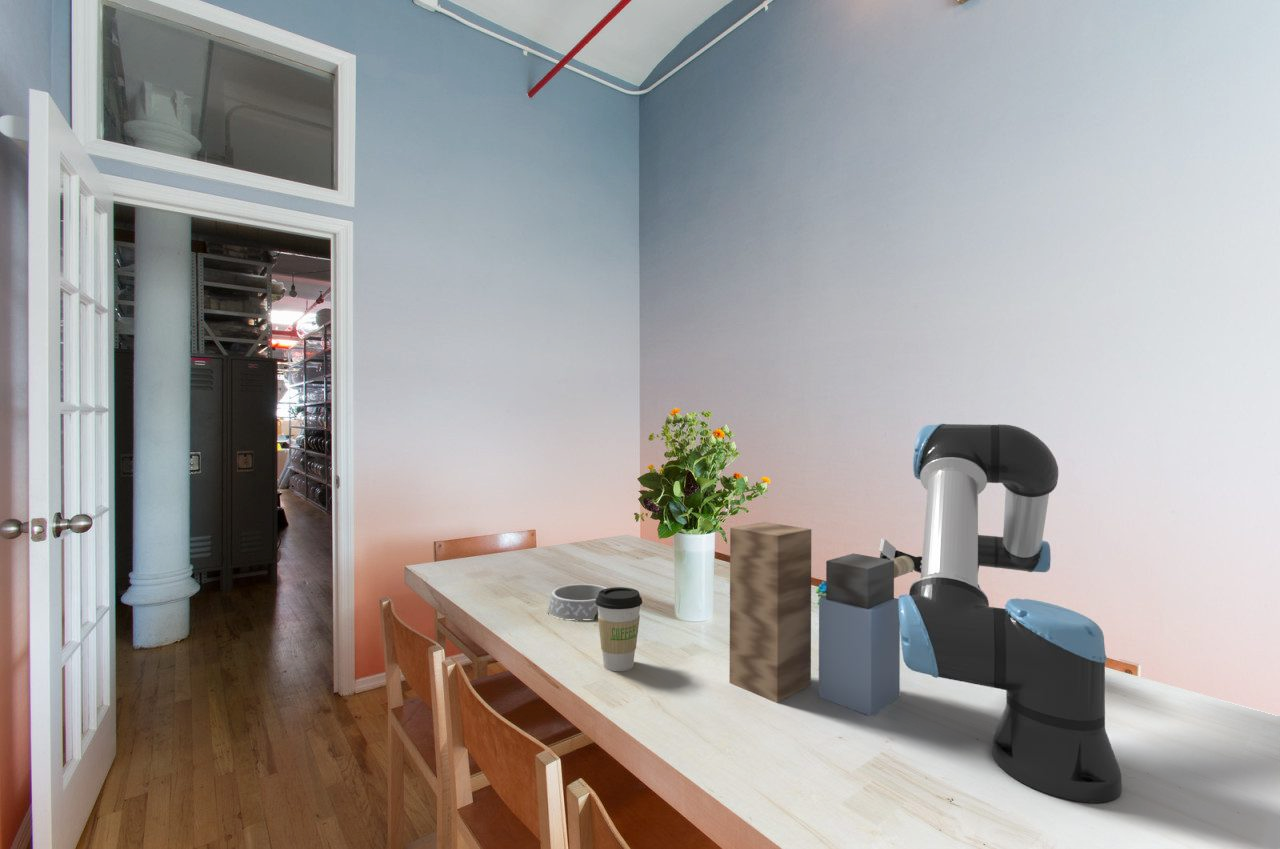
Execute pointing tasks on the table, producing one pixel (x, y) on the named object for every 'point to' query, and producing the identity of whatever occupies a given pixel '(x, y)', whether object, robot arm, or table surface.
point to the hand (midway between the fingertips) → (914, 549)
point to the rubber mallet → (864, 579)
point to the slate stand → (859, 655)
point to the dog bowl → (575, 601)
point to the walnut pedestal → (770, 609)
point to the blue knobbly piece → (821, 590)
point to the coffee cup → (618, 626)
